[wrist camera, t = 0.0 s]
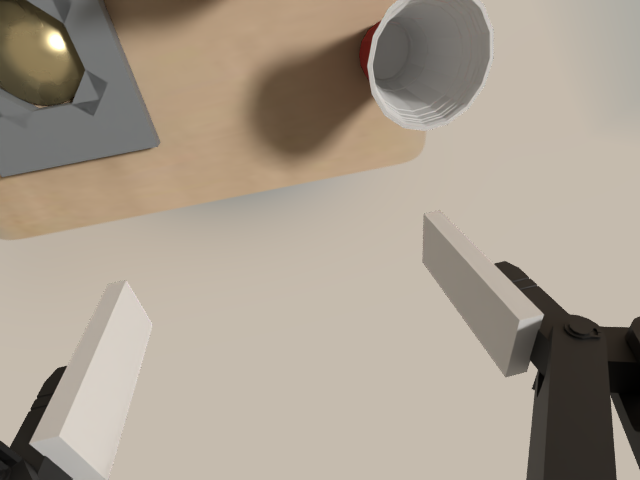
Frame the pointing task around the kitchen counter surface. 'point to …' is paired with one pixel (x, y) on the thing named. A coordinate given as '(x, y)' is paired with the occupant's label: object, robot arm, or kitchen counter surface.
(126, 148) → the socket plate
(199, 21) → the kitchen counter surface
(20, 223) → the kitchen counter surface
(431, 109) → the plastic cup
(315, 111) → the kitchen counter surface
